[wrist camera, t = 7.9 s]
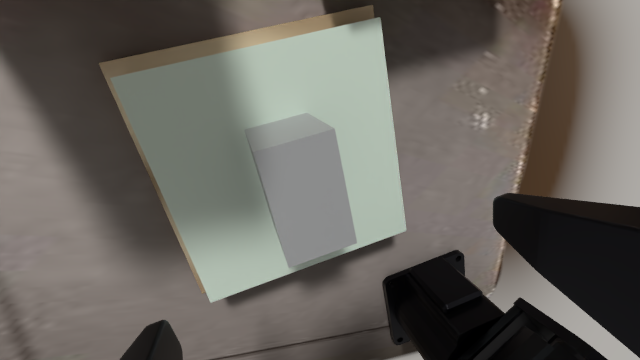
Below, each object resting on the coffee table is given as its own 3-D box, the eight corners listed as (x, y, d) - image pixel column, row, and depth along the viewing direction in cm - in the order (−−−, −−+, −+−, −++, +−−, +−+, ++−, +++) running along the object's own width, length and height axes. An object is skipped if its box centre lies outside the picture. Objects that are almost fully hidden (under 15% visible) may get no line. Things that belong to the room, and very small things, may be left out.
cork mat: (395, 218, 22) (400, 222, 22) (202, 287, 20) (202, 293, 19) (367, 6, 17) (372, 4, 17) (102, 63, 15) (98, 63, 14)
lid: (390, 216, 21) (449, 269, 16) (211, 279, 19) (209, 366, 14) (362, 21, 17) (432, 3, 11) (123, 75, 14) (68, 84, 9)
